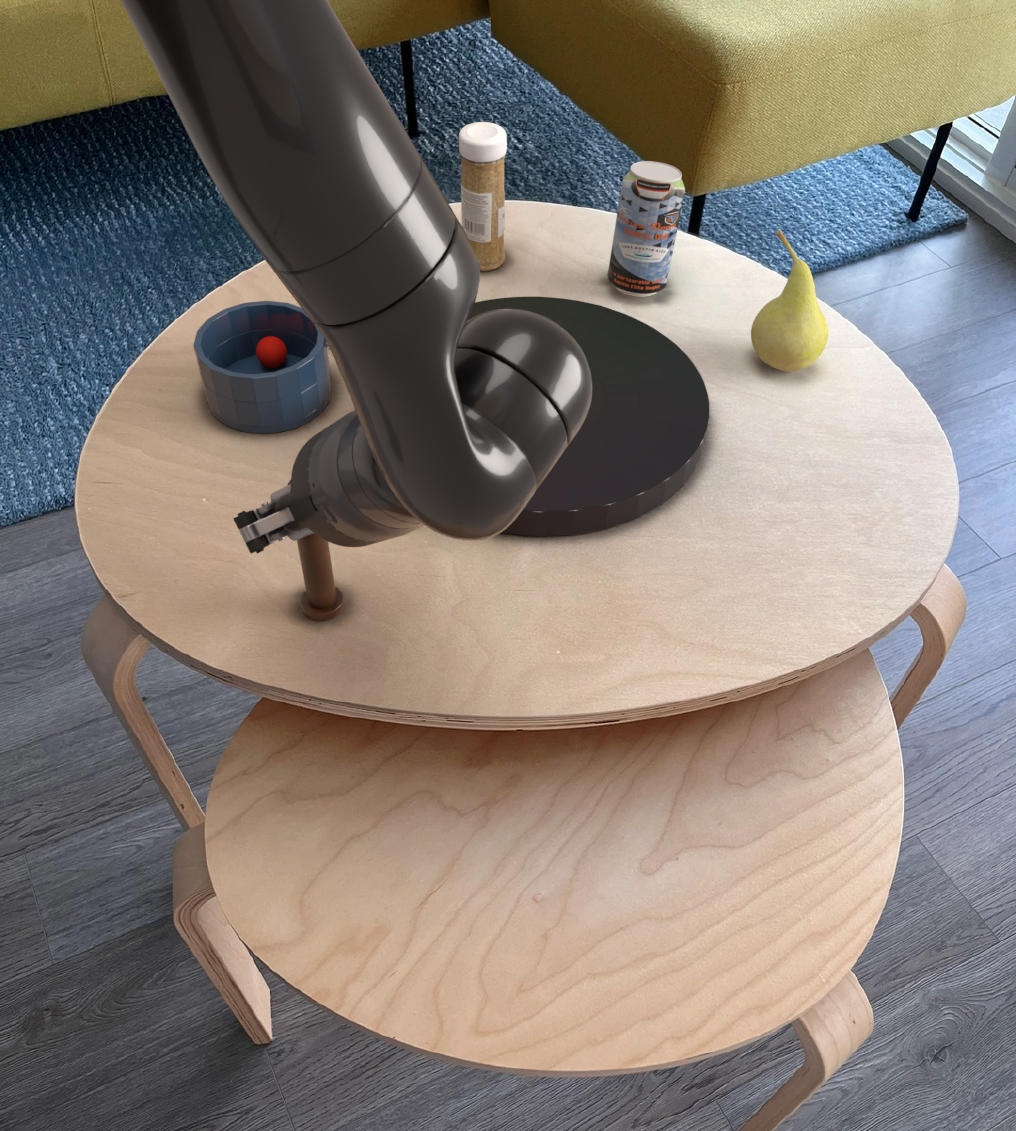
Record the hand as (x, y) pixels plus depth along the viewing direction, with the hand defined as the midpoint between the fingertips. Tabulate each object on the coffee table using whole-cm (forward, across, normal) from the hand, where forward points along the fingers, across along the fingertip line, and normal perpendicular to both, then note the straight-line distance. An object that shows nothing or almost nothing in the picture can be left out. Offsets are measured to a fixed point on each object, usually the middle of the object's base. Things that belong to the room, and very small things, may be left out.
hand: (296, 510), depth 81 cm
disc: (+11, -27, +2) cm, 29 cm away
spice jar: (+28, -38, -15) cm, 49 cm away
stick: (+5, 0, +7) cm, 9 cm away
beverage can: (+18, -48, -6) cm, 52 cm away
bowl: (+23, -9, -10) cm, 27 cm away
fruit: (+6, -51, +6) cm, 52 cm away
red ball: (+23, -11, -14) cm, 29 cm away
